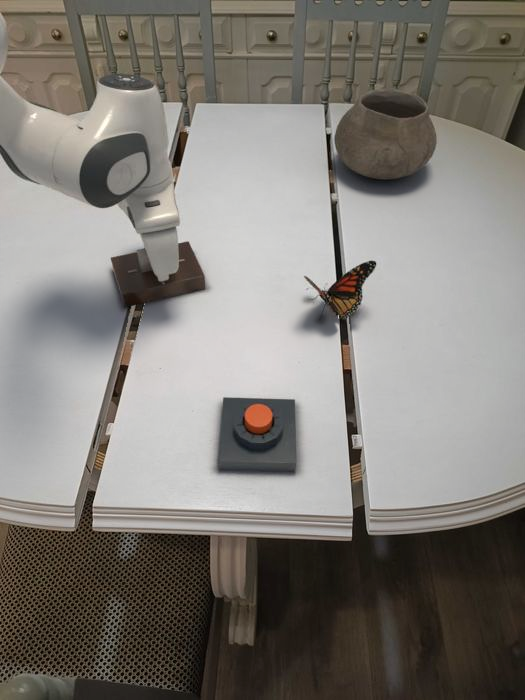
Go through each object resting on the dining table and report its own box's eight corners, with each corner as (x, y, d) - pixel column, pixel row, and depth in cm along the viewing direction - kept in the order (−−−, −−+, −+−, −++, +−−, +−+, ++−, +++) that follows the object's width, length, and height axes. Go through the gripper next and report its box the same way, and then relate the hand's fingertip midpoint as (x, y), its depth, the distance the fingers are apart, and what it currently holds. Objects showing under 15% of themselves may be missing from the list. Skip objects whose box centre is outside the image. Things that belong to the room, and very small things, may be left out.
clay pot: (349, 137, 128) (359, 72, 117) (437, 157, 123) (456, 91, 111) (317, 180, 115) (324, 112, 104) (413, 206, 110) (432, 136, 98)
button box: (218, 469, 69) (217, 453, 66) (223, 406, 76) (222, 389, 73) (295, 471, 69) (297, 456, 66) (293, 408, 76) (295, 391, 73)
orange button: (244, 434, 68) (244, 426, 67) (245, 410, 71) (245, 403, 70) (272, 434, 68) (272, 427, 67) (272, 411, 71) (272, 404, 70)
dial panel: (124, 307, 88) (121, 293, 86) (113, 270, 94) (110, 256, 92) (205, 288, 92) (204, 274, 89) (189, 254, 98) (188, 240, 95)
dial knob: (142, 272, 90) (138, 255, 87) (139, 266, 91) (136, 248, 88) (173, 265, 91) (171, 248, 88) (171, 259, 92) (168, 242, 89)
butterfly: (348, 283, 93) (357, 237, 86) (376, 320, 88) (388, 274, 80) (285, 300, 90) (288, 253, 83) (309, 339, 84) (315, 293, 77)
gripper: (110, 158, 85) (125, 230, 95) (137, 231, 73) (151, 304, 83) (149, 152, 87) (160, 223, 97) (182, 222, 74) (190, 295, 85)
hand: (156, 261), depth 90 cm, fingers open, 8 cm apart
